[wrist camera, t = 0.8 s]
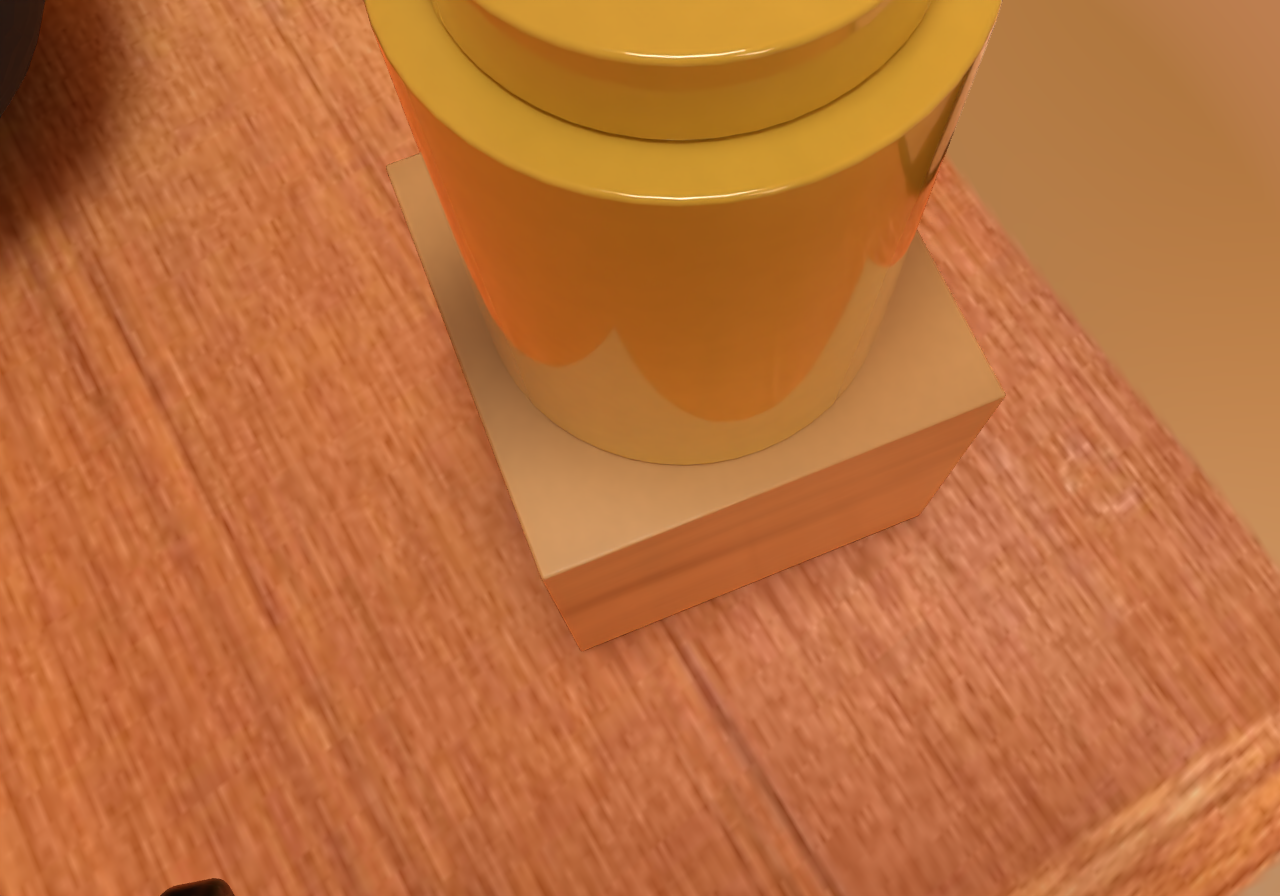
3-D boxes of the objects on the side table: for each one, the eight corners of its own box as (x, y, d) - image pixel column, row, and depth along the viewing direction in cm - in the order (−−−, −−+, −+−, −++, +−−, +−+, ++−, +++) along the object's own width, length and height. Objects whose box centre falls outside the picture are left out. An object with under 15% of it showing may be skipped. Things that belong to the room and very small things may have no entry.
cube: (921, 515, 25) (1008, 395, 18) (580, 652, 24) (541, 580, 17) (773, 216, 27) (802, 13, 20) (459, 334, 26) (384, 164, 20)
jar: (954, 375, 18) (1192, -33, 10) (565, 529, 18) (455, 237, 9) (784, 52, 20) (858, -526, 12) (430, 181, 20) (234, -326, 11)
